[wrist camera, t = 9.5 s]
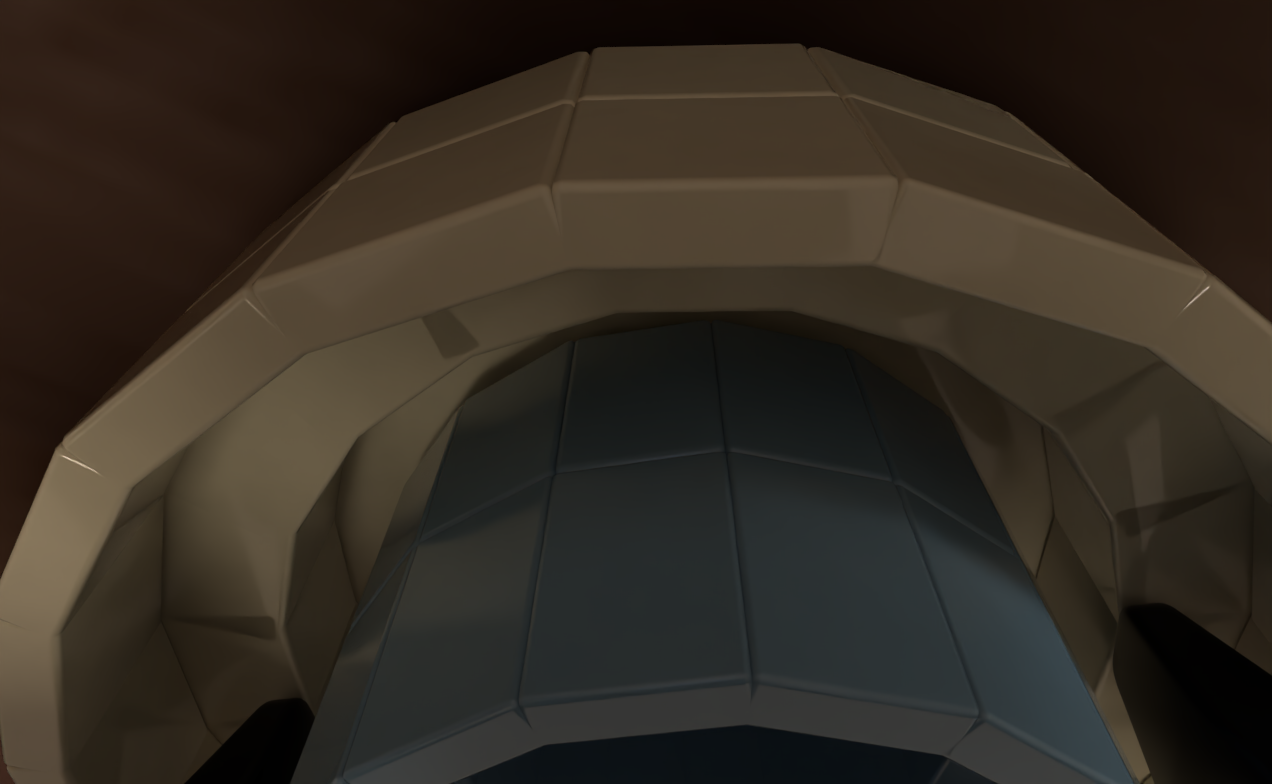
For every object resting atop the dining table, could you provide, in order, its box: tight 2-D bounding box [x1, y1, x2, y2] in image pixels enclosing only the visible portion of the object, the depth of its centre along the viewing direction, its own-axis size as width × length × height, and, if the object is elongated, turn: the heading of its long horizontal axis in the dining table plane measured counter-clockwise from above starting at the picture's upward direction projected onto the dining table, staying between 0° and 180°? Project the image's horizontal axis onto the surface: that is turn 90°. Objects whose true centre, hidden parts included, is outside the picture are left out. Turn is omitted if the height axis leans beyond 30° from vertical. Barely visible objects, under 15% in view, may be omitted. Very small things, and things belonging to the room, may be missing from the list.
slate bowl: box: [290, 320, 1140, 784], centre depth 9 cm, size 7×7×5 cm
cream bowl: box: [0, 44, 1272, 784], centre depth 10 cm, size 12×12×4 cm
